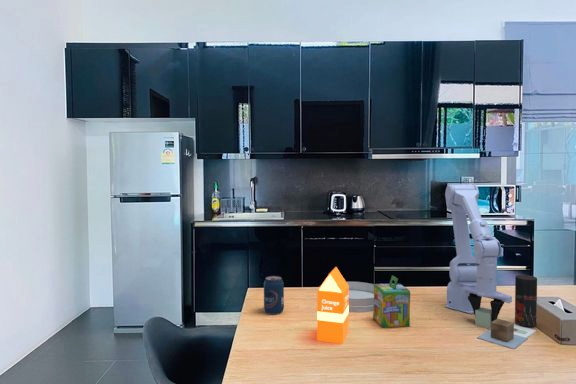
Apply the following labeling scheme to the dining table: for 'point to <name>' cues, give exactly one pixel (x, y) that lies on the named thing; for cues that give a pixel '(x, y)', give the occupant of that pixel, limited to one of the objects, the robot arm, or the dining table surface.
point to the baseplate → (511, 344)
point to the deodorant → (525, 301)
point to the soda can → (273, 295)
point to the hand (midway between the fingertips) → (485, 320)
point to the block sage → (483, 317)
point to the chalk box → (391, 304)
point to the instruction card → (523, 331)
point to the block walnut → (502, 330)
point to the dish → (361, 297)
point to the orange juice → (333, 308)
